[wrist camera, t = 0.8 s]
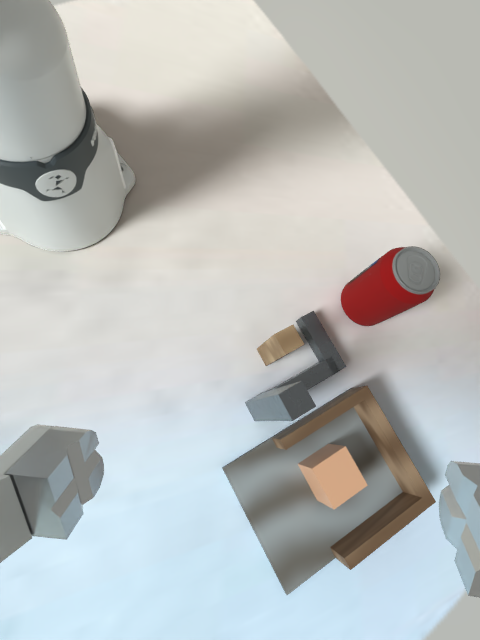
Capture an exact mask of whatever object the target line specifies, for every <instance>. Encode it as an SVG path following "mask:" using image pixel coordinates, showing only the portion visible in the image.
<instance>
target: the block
mask: <svg viewBox="0 0 480 640" xmlns="http://www.w3.org/2000/svg"><path fill="white" fill-rule="evenodd" d="M298 466H299V468H300V469H301V471H302V473H303V475H304V477H305V479H306V481H307V482H308V484H309V486H310V488H311V490H312V492H313V494H314V495H315V497H316V499H317V501H319V502H321V503H323V504H325V505H327V506H328V507H330V508H332V509H336V508H337V507H339V506H340V505H341V504H343V503H344V502H345V501H347V500H348V499H350V498H351V497H352V496H354V495H355V494H356V493H358V492H359V491H361V490H362V489H363V488H365V487H366V486H367V483H366V481H365V479H364V478H363V476H362V474H361V472H360V471H359V469H358V467H357V465H356V464H355V462H354V460H353V458H352V456H351V455H350V453H349V451H348V449H347V448H346V446H342V445H334V444H327V445H325V446H324V447H322V448H321V449H319V450H318V451H316V452H315V453H313V454H312V455H310V456H309V457H307V458H306V459H304V460H303V461H301V462H300V463H298Z"/></svg>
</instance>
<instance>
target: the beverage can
mask: <svg viewBox="0 0 480 640" xmlns="http://www.w3.org/2000/svg"><path fill="white" fill-rule="evenodd" d="M439 280H440V270H439V266H438V264H437V262H436V260H435V259H434V258H433V256H432V255H431V254H430V253H429V252H427V251H426V250H424V249H422V248H419V247H413V246H411V247H401V248H395V249H392V250H390V251H389V252H387V253H386V254H385V255H383V256H382V257H381V258H379V259H378V260H377V261H375V262H374V263H373V264H371V265H370V266H369V267H368V268H366V269H365V270H364V271H362V272H361V273H360V274H359V275H357V276H356V277H355V278H354V279H352V280H351V281H350V282H349V283H348V284H346V286H345V287H344V289H343V291H342V294H341V304H342V307H343V310H344V312H345V313H346V315H347V316H348V317H349V318H350V319H351V320H352V321H354V322H355V323H357V324H360V325H363V326H372V325H375V324H377V323H380V322H382V321H384V320H387V319H389V318H391V317H393V316H395V315H397V314H400V313H402V312H404V311H406V310H408V309H410V308H412V307H414V306H416V305H418V304H420V303H422V302H424V301H426V300H427V299H428V298H429V297H430V296H431V295H432V293H433V291H434V289H435V287H436V286H437V285H438V283H439Z"/></svg>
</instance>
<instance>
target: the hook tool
mask: <svg viewBox="0 0 480 640" xmlns="http://www.w3.org/2000/svg"><path fill="white" fill-rule="evenodd" d="M296 322H297V324H298V326H299V327H300V329H301V331H302V333H303V334H304V336H305V338H306V339H307V341H308V343H309V345H310V346H311V348H312V350H313V352H314V353H315V355H316V357H317V359H318V360H319V363H317V364H315V365H313V366H312V367H310V368H308V369H306V370H305V371H303V372H301V373H299V374H298V375H296V376H294V377H292V378H291V379H289V380H287V381H285V382H284V383H282V384H280V385H278V386H277V387H275V388H273V389H271V390H270V391H267V392H263V393H261V394H259V395H257V396H256V397H254V398H252V399H250V400H249V401H247V402H245V404H246V406H247V407H248V409H249V411H250V413H251V415H252V417H253V419H254V421H293V420H295V419H296V418H298V417H299V416H301V415H303V414H304V413H306V412H308V411H309V410H311V409H313V408H314V407H316V405H315V404H314V402H313V400H312V398H311V396H310V395H309V393H308V391H307V390H308V389H309V388H311V387H313V386H314V385H316V384H318V383H319V382H321V381H323V380H325V379H326V378H328V377H330V376H331V375H333V374H335V373H336V372H338V371H340V370H341V369H343V368H345V367H346V365H345V364H344V362H343V360H342V359H341V357H340V355H339V353H338V352H337V350H336V348H335V347H334V345H333V343H332V342H331V340H330V338H329V336H328V335H327V333H326V331H325V330H324V328H323V326H322V324H321V323H320V321H319V319H318V318H317V316H316V314H315V313H314V311H312V312H310V313H308V314H307V315H305V316H303V317H301V318H300V319H298V320H297V321H296Z"/></svg>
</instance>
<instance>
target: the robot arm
mask: <svg viewBox="0 0 480 640" xmlns="http://www.w3.org/2000/svg"><path fill="white" fill-rule="evenodd" d="M122 170H123V171H122ZM135 182H136V178H135V175H134V172H133V171H132V169H131V168H130V167H129V166H128V164H127V163H126V162H125V161H124V160H123V158H122V157H121V156H120V155H119V154H118V152H117V151H116V148H115V144H114V142H113V140H112V138H110V137H107V135H106V134H105V132H104V131H103V130H102V129H101V128H100V127H99V126H98V125H97V124H96V119H95V116H94V112H93V110H92V107H91V106H90V103H89V100H88V97H87V95H86V94H85V92H84V91H83V89H82V88H81V86H80V82H79V78H78V74H77V71H76V67H75V63H74V59H73V56H72V52H71V48H70V44H69V40H68V37H67V33H66V29H65V27H64V24H63V22H62V20H61V18H60V16H59V14H58V12H57V11H56V9H55V8H54V6H53V5H52V3H51V2H50V1H49V0H0V234H6V235H12V236H15V237H17V238H19V239H21V240H22V241H24V242H26V243H28V244H30V245H32V246H35V247H37V248H41V249H44V250H50V251H73V250H78V249H82V248H85V247H88V246H90V245H93V244H95V243H96V242H98V241H100V240H101V239H103V238H104V237H105V236H106V235H108V234H109V233H110V232H111V231H112V229H113V228H114V227H115V226H116V224H117V222H118V221H119V218H120V216H121V213H122V210H123V205H124V200H125V197H126V195H127V194H128V193H129V191H130V190H131V189H132V187H133V186H134V184H135ZM98 444H99V442H98V438H97V435H96V432H94V431H92V430H85V429H76V428H67V427H59V426H55V427H54V426H46V425H35V426H32V427H30V428H29V429H28V430H27V431H26V432H25V433H24V434H23V435H22V436H21V437H20V438H19V439H18V440H17V441H15V442H14V443H13V444H12V445H11V446H10V447H9V448H8V449H7V450H6V451H5V452H4V453H3V454H2V455H1V456H0V563H1V562H2V561H3V560H4V559H6V558H7V557H8V556H10V555H11V554H12V553H13V552H15V551H16V550H17V549H19V548H20V547H21V546H22V545H24V544H25V543H26V542H28V541H29V540H30V539H32V536H38V537H48V538H57V539H67V538H68V537H69V535H70V534H71V532H72V530H73V529H74V527H75V526H76V524H77V523H78V521H79V520H80V518H81V516H82V515H83V504H84V503H86V502H87V501H89V500H90V499H92V498H93V497H94V496H95V494H96V493H97V491H98V489H99V488H100V485H101V481H102V478H103V475H104V464H103V459H102V457H101V456H100V455H99V454H98V453H97V452H96V450H95V449H96V447H97V446H98ZM445 476H446V478H447V481H448V483H449V485H448V486H447V487H446V488H444V489H443V490H442V491H441V494H440V500H439V516H440V521H441V525H442V529H443V531H444V534H445V537H446V539H447V540H448V541H449V542H450V543H451V544H452V545H453V546H454V547H455V548H456V549H457V553H456V557H455V560H454V561H455V563H456V566H457V568H458V571H459V573H460V576H461V578H462V581H463V584H464V586H465V589H466V591H467V594H468V596H474V597H480V463H469V462H456V461H451V462H450V463H449V464H448V466H447V469H446V473H445Z"/></svg>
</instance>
